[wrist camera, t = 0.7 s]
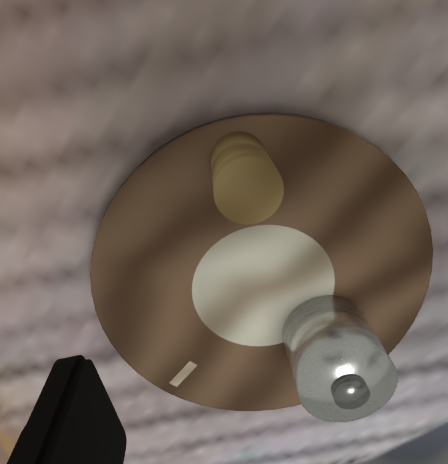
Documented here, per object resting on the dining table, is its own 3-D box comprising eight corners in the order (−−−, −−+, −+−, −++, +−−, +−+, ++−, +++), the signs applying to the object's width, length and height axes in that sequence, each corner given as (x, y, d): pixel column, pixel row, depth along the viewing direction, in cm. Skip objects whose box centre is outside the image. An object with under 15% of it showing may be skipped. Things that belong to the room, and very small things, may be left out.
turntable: (491, 252, 32) (572, 311, 25) (275, 437, 40) (291, 521, 33) (238, 22, 24) (253, 14, 17) (32, 310, 32) (-15, 385, 25)
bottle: (382, 322, 33) (424, 387, 27) (324, 373, 35) (350, 444, 29) (323, 280, 31) (354, 340, 24) (265, 337, 33) (280, 405, 27)
